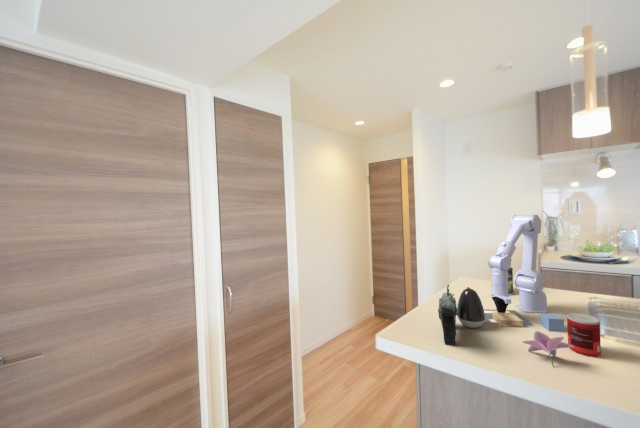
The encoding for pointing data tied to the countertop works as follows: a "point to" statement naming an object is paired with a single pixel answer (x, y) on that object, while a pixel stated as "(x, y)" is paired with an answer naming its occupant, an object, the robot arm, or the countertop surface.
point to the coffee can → (510, 281)
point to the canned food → (584, 334)
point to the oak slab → (507, 319)
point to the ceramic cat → (448, 317)
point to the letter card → (489, 312)
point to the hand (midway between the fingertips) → (501, 314)
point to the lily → (546, 344)
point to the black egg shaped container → (470, 309)
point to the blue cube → (552, 322)
